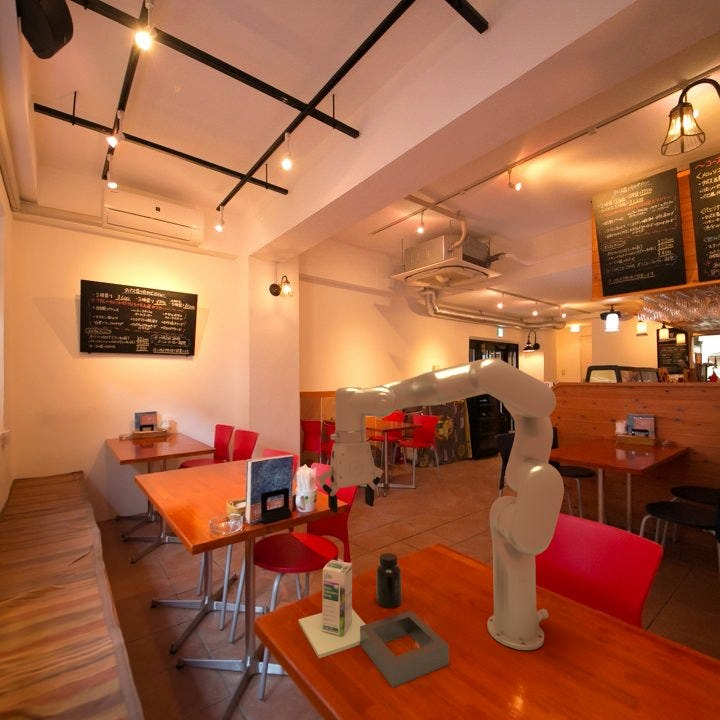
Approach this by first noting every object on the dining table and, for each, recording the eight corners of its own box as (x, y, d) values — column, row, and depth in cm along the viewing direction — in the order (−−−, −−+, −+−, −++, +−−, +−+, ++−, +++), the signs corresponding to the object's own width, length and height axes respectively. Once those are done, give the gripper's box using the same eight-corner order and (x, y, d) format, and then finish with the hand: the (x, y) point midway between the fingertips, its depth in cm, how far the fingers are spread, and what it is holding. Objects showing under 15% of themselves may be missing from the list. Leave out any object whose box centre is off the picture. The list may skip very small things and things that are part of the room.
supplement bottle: (395, 593, 109) (395, 549, 110) (405, 606, 103) (405, 560, 104) (372, 597, 107) (372, 552, 108) (381, 611, 101) (381, 563, 101)
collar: (410, 627, 94) (410, 610, 94) (448, 664, 81) (448, 644, 82) (360, 644, 87) (360, 626, 88) (392, 687, 75) (392, 666, 75)
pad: (349, 608, 102) (349, 605, 102) (375, 639, 89) (375, 635, 89) (298, 622, 95) (298, 619, 95) (318, 658, 83) (318, 654, 83)
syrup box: (320, 632, 91) (321, 568, 92) (331, 617, 96) (331, 558, 97) (343, 637, 89) (343, 572, 90) (352, 622, 94) (353, 561, 95)
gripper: (323, 442, 88) (324, 518, 87) (388, 436, 96) (390, 506, 94) (312, 438, 94) (313, 509, 93) (374, 433, 102) (375, 499, 101)
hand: (351, 508), depth 94 cm, fingers open, 9 cm apart
